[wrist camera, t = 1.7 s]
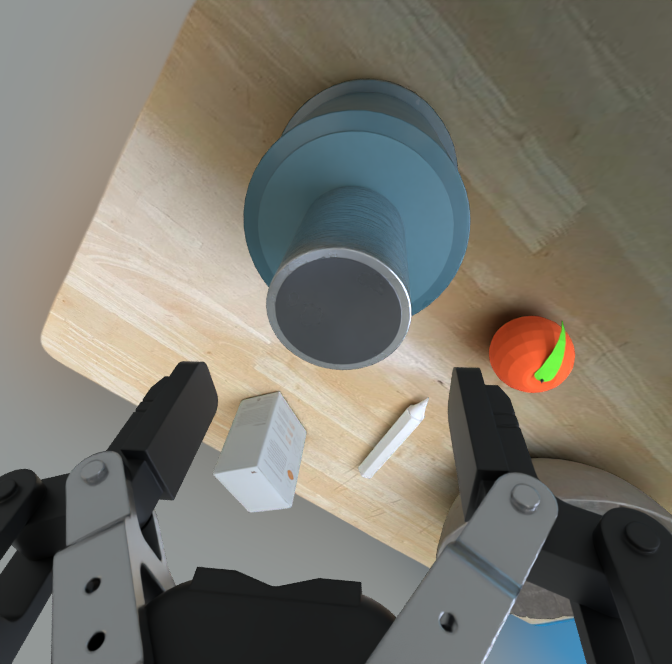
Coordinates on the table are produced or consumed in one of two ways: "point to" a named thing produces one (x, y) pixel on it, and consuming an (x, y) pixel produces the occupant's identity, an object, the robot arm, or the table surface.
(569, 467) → the bowl
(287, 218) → the blue flanged cylinder
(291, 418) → the small box
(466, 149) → the table surface
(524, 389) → the clementine
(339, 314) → the cup
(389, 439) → the white pencil
